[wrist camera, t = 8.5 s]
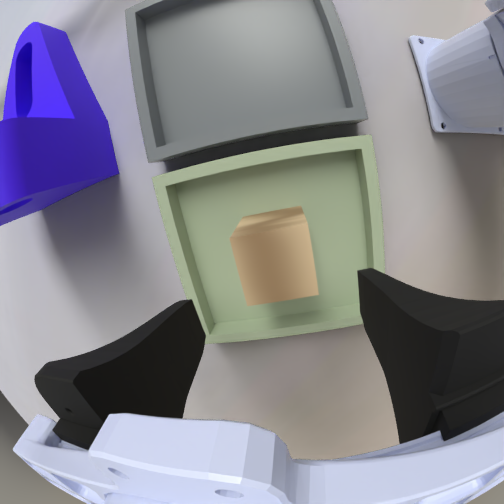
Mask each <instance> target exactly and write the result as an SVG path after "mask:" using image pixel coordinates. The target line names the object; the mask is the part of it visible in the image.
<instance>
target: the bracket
mask: <svg viewBox="0 0 504 504" xmlns="http://www.w3.org/2000/svg"><path fill="white" fill-rule="evenodd" d="M117 174H119V170H118V166H117V162H116V158H115V153H114V149H113V144H112V140H111V135H110V130H109V125H108V121H107V119H106V117H105V115H104V113H103V111H102V109H101V107H100V105H99V103H98V101H97V99H96V97H95V95H94V93H93V91H92V89H91V87H90V85H89V83H88V81H87V79H86V76H85V74H84V72H83V70H82V68H81V66H80V64H79V61H78V59H77V57H76V55H75V52H74V50H73V48H72V46H71V43H70V41H69V39H68V36H67V34H66V32H64V31H62V30H59V29H56V28H53V27H51V26H48V25H45V24H42V23H39V22H33V23H31V24H30V25H29V26H28V27H27V28H26V29H25V30H24V31H23V32H22V34H21V35H20V37H19V39H18V41H17V44H16V47H15V51H14V55H13V59H12V64H11V68H10V73H9V78H8V84H7V90H6V97H5V105H4V115H3V120H2V121H0V226H1V225H3V224H6V223H8V222H11V221H13V220H16V219H18V218H21V217H23V216H26V215H29V214H31V213H34V212H37V211H39V210H42V209H44V208H46V207H47V206H49V205H51V204H53V203H55V202H57V201H59V200H61V199H63V198H65V197H67V196H69V195H71V194H73V193H76V192H78V191H80V190H82V189H84V188H86V187H89V186H91V185H93V184H95V183H98V182H100V181H102V180H105V179H107V178H109V177H112V176H114V175H117Z"/></svg>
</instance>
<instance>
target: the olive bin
mask: <svg viewBox="0 0 504 504" xmlns="http://www.w3.org/2000/svg"><path fill="white" fill-rule="evenodd" d="M152 180H153V184H154V189H155V193H156V197H157V200H158V204H159V208H160V212H161V216H162V219H163V223H164V226H165V230H166V234H167V237H168V240H169V244H170V247H171V251H172V254H173V257H174V261H175V264H176V267H177V270H178V273H179V276H180V280H181V283H182V286H183V289H184V292H185V295H186V298H187V300H189V299H192V300H193V303H194V306H195V308H196V311H197V314H198V316H199V319H200V322H201V324H202V327H203V329H204V332H205V334H206V339H205V344H212V343H226V342H238V341H249V340H259V339H268V338H277V337H285V336H292V335H300V334H307V333H313V332H320V331H326V330H332V329H338V328H344V327H349V326H355V325H360V324H363V320H362V317H361V314H360V303H359V288H358V275H357V270H362V269H367V268H373V269H376V270H378V271H380V272H382V273H384V274H385V260H384V236H383V221H382V209H381V198H380V189H379V181H378V173H377V166H376V159H375V153H374V147H373V141H372V136H371V135H362V136H352V137H343V138H334V139H326V140H319V141H312V142H305V143H299V144H293V145H287V146H281V147H275V148H270V149H264V150H259V151H254V152H249V153H245V154H240V155H235V156H231V157H227V158H222V159H218V160H214V161H210V162H206V163H202V164H198V165H194V166H190V167H187V168H183V169H179V170H176V171H172V172H169V173H165V174H162V175H158V176H155V177H152ZM296 206H301V207H302V210H303V212H304V215H305V217H306V220H307V223H308V227H309V233H310V239H311V245H312V251H313V258H314V264H315V271H316V278H317V285H318V292H319V295H315V296H309V297H304V298H298V299H292V300H285V301H279V302H273V303H266V304H259V305H253V306H247V303H246V300H245V296H244V292H243V288H242V285H241V281H240V277H239V273H238V270H237V266H236V262H235V258H234V255H233V251H232V247H231V243H230V239H229V238H230V237H231V235H232V233H233V232H234V230H235V228H236V227H237V225H238V223H239V222H240V220H241V219H242V217H244V216H249V215H254V214H259V213H264V212H269V211H274V210H280V209H285V208H290V207H296Z"/></svg>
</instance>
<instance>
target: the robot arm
mask: <svg viewBox="0 0 504 504" xmlns="http://www.w3.org/2000/svg"><path fill="white" fill-rule="evenodd" d="M485 5H486V6H487V7H488V9H489V10H490V11H491V12H494V11H497V10H498V11H497V12H495V13H494V14H492V15H491V16H489V17H488V18H486V19H485V20H483V21H481V22H479V23H477V24H475V25H473V26H471V27H469V28H467V29H466V30H464V31H462V32H460V33H458V34H457V35H455V36H453V37H451V38H450V39H448V40H441V39H435V38H429V37H422V36H415V35H412V36H411V37H409V43H410V46H411V49H412V52H413V55H414V58H415V61H416V64H417V67H418V71H419V74H420V78H421V82H422V85H423V89H424V93H425V97H426V102H427V106H428V111H429V116H430V121H431V126H432V129H433V130H434V131H435V132H454V133H485V134H500V135H504V0H487V1H486V2H485ZM499 9H500V10H499ZM418 40H420V41H421V43H422V44H421V43H419V41H418ZM441 123H442V124H443V125H444V128H442V127H441ZM498 127H499V129H498ZM357 275H358V288H359V303H360V314H361V317H362V320H363V324H364V327H365V330H366V333H367V335H368V337H369V339H370V341H371V344H372V346H373V348H374V350H375V353H376V355H377V357H378V359H379V362H380V364H381V366H382V369H383V371H384V374H385V377H386V380H387V384H388V388H389V392H390V396H391V400H392V404H393V408H394V413H395V418H396V423H397V429H398V435H399V442H400V444H399V445H396V446H392V447H389V448H385V449H381V450H377V451H373V452H369V453H364V454H360V455H355V456H350V457H345V458H339V459H333V460H302V459H292V458H291V456H290V454H289V451H288V448H287V445H286V444H285V443H284V442H283V441H282V440H281V439H280V438H279V437H278V436H277V435H276V434H275V433H274V432H272V431H270V430H267V429H264V428H262V427H259V426H256V425H254V424H251V423H247V422H238V421H229V420H204V419H182V418H183V413H184V408H185V404H186V399H187V396H188V393H189V390H190V387H191V384H192V382H193V379H194V376H195V374H196V371H197V368H198V366H199V363H200V360H201V357H202V354H203V350H204V345H205V339H206V334H205V332H204V329H203V327H202V324H201V322H200V319H199V316H198V314H197V311H196V308H195V306H194V303H193V300H192V299H189V300H182V301H178V302H176V303H174V304H173V305H171V306H170V307H168V308H167V309H165V310H164V311H162V312H161V313H159V314H158V315H156V316H155V317H153V318H152V319H151V320H149V321H148V322H146V323H145V324H143V325H141V326H140V327H138V328H137V329H135V330H134V331H132V332H130V333H129V334H127V335H125V336H124V337H122V338H120V339H118V340H116V341H114V342H112V343H110V344H108V345H105V346H103V347H100V348H98V349H96V350H93V351H91V352H88V353H85V354H81V355H78V356H75V357H71V358H67V359H62V360H57V361H51V362H48V363H46V364H45V365H44V366H43V367H42V368H41V370H40V371H39V372H38V373H37V374H36V375H35V379H34V380H35V384H36V387H37V389H38V391H39V392H40V394H41V395H42V397H43V398H44V399H45V401H46V402H47V403H48V404H49V406H50V407H51V408H52V409H53V411H54V412H55V413H56V414H57V415H58V416H59V418H60V419H59V421H58V422H57V423H56V422H55V421H54V420H52V419H50V418H48V417H45V416H43V415H40V414H37V415H36V417H35V418H34V419H33V421H32V422H31V424H30V425H29V426H28V428H27V429H26V430H25V432H24V433H23V435H22V436H21V438H20V439H19V440H18V442H17V443H16V445H15V446H14V448H13V451H14V452H15V453H16V454H17V455H18V456H19V457H20V458H21V459H23V460H24V461H25V462H26V463H27V464H28V465H29V466H30V467H32V468H33V469H34V470H35V471H36V472H38V473H39V474H40V475H41V476H42V477H44V478H45V479H46V480H47V481H49V482H50V483H51V484H53V485H55V486H57V487H58V488H60V489H62V490H63V491H65V492H67V493H69V494H70V495H72V496H74V497H76V498H77V499H79V500H81V501H83V502H85V503H87V504H466V503H467V502H469V501H471V500H473V499H474V498H476V497H478V496H480V495H481V494H483V493H485V492H486V491H488V490H489V489H491V488H493V487H494V486H496V485H497V484H499V483H500V482H502V481H503V480H504V300H497V301H476V300H464V299H456V298H451V297H445V296H441V295H437V294H433V293H430V292H426V291H423V290H420V289H417V288H415V287H412V286H410V285H407V284H405V283H403V282H401V281H398V280H396V279H394V278H392V277H390V276H388V275H386V274H384V273H382V272H380V271H378V270H376V269H373V268H367V269H362V270H357Z"/></svg>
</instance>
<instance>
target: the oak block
mask: <svg viewBox="0 0 504 504" xmlns="http://www.w3.org/2000/svg"><path fill="white" fill-rule="evenodd" d="M229 239H230V243H231V247H232V251H233V255H234V258H235V262H236V266H237V270H238V273H239V277H240V281H241V285H242V288H243V292H244V296H245V300H246V303H247V306H253V305H259V304H266V303H273V302H279V301H285V300H292V299H298V298H304V297H309V296H315V295H319V292H318V285H317V278H316V271H315V264H314V258H313V251H312V245H311V239H310V233H309V227H308V223H307V220H306V217H305V215H304V212H303V210H302V207H301V206H296V207H290V208H285V209H280V210H274V211H269V212H264V213H259V214H254V215H249V216H244V217H242V219H241V220H240V222H239V223H238V225H237V227H236V228H235V230H234V232H233V233H232V235H231V237H230V238H229Z"/></svg>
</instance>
